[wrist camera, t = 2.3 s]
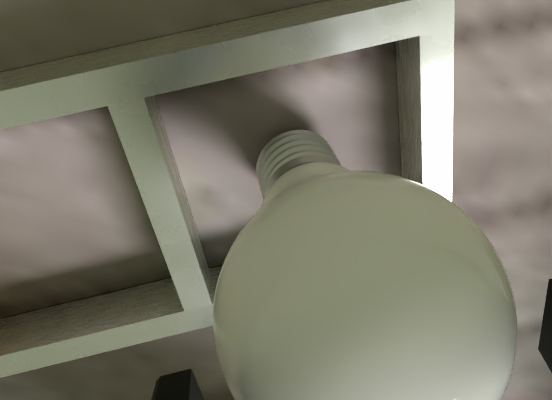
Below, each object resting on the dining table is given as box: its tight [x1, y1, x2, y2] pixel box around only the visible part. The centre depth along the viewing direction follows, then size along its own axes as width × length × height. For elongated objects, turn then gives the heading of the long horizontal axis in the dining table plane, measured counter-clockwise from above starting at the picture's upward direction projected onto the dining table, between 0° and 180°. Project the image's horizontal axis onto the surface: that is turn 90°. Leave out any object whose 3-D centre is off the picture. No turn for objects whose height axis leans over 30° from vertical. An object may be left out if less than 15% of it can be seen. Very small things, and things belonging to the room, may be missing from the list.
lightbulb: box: [213, 130, 517, 400], centre depth 13 cm, size 6×6×11 cm
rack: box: [0, 0, 454, 378], centre depth 17 cm, size 10×27×2 cm, turn 100°
